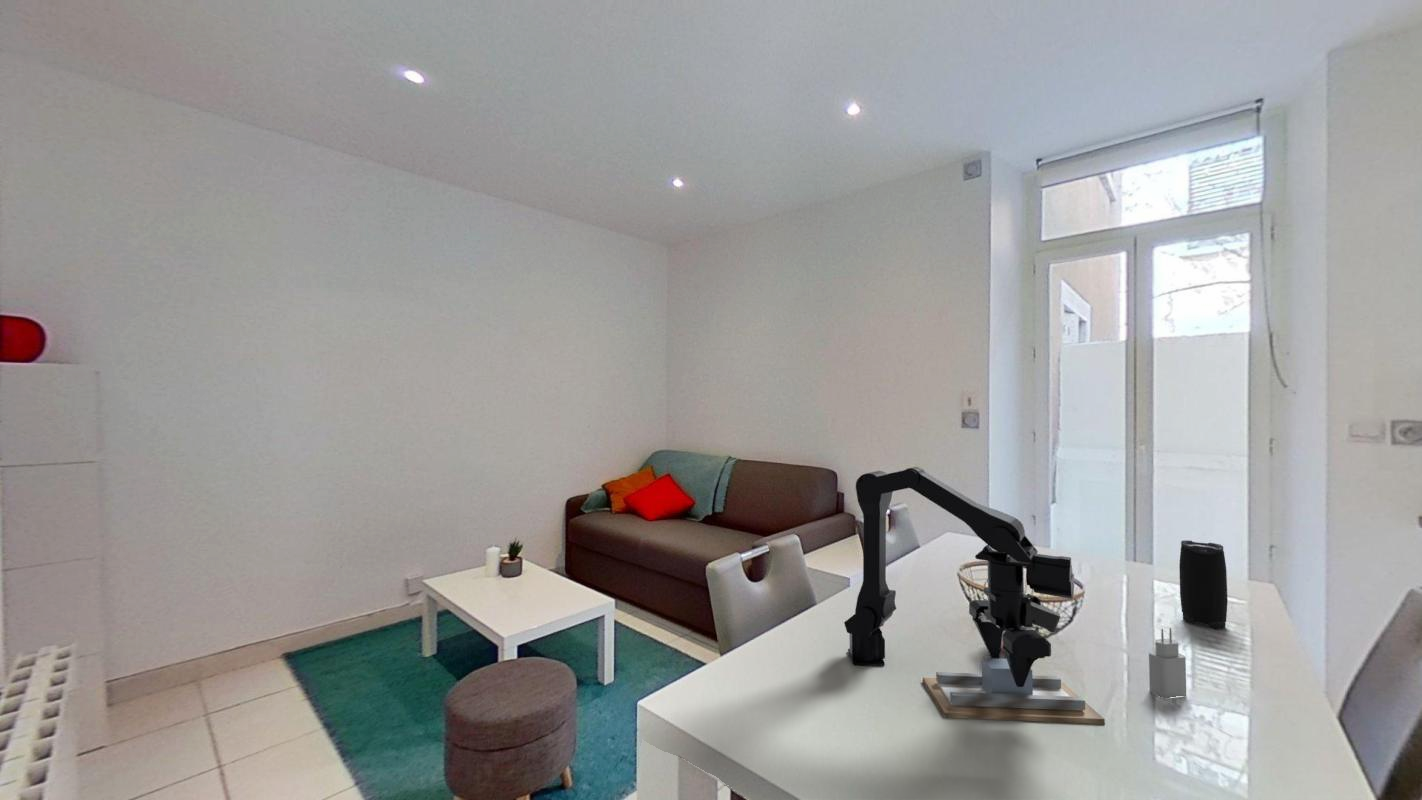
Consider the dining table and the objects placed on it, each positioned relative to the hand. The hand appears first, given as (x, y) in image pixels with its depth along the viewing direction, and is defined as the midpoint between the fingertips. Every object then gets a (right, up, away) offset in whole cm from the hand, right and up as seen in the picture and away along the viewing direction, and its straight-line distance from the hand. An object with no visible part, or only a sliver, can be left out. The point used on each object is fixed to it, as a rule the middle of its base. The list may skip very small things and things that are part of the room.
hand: (1007, 673), depth 96 cm
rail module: (0, -4, 0) cm, 4 cm away
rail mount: (0, -5, 0) cm, 5 cm away
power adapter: (+31, -5, +2) cm, 32 cm away
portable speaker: (+68, -6, +34) cm, 76 cm away
